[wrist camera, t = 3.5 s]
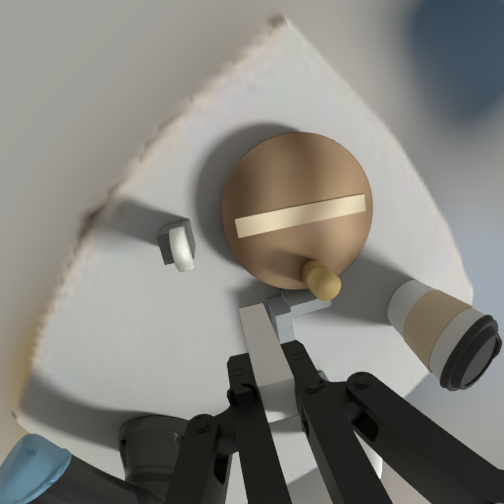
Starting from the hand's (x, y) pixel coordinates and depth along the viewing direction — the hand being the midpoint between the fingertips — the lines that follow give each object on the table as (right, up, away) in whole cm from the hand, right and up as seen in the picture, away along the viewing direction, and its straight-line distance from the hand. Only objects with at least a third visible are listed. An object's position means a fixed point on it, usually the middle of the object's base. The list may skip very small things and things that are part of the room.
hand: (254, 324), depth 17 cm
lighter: (-7, +6, +8) cm, 12 cm away
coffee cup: (+20, -2, +16) cm, 26 cm away
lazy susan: (+4, +8, +9) cm, 13 cm away
